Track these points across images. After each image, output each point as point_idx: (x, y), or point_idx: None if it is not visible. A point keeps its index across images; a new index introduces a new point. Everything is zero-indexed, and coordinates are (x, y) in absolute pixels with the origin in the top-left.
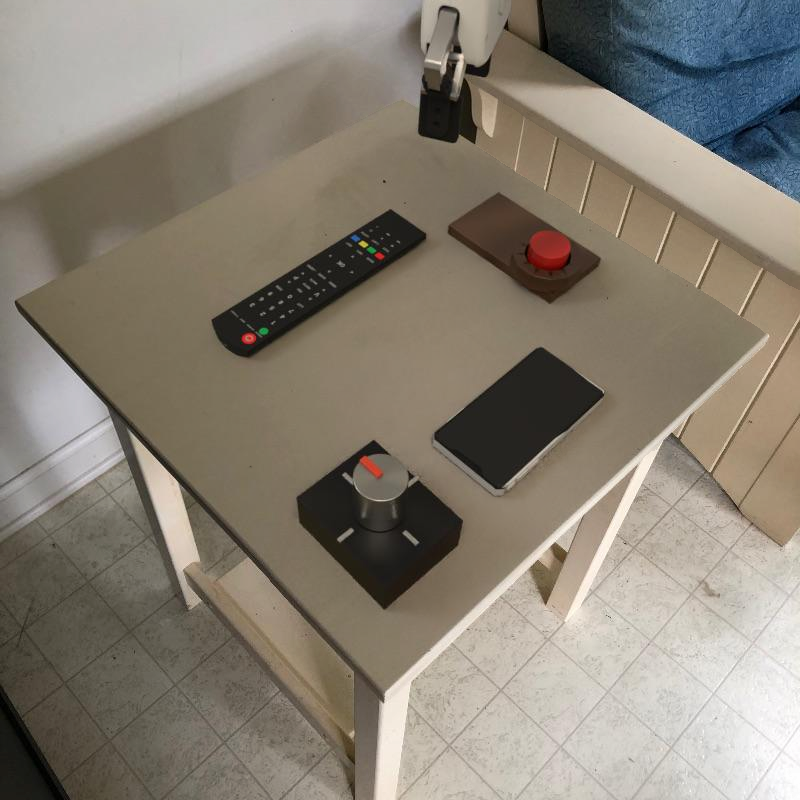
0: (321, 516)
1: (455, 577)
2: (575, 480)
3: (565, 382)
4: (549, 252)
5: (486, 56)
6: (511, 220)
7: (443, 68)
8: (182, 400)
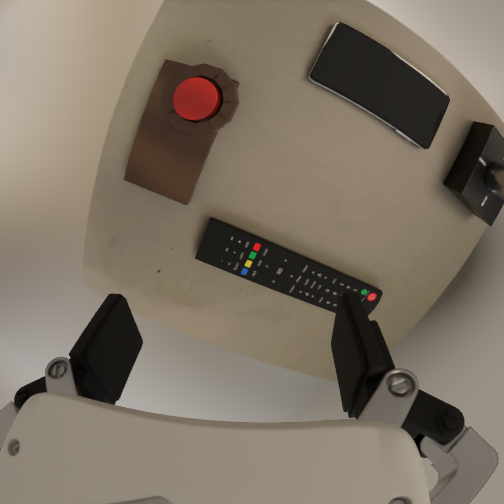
0: (499, 209)
1: (486, 121)
2: (414, 45)
3: (342, 51)
4: (207, 95)
5: (372, 445)
6: (152, 153)
7: (474, 456)
8: (410, 304)
